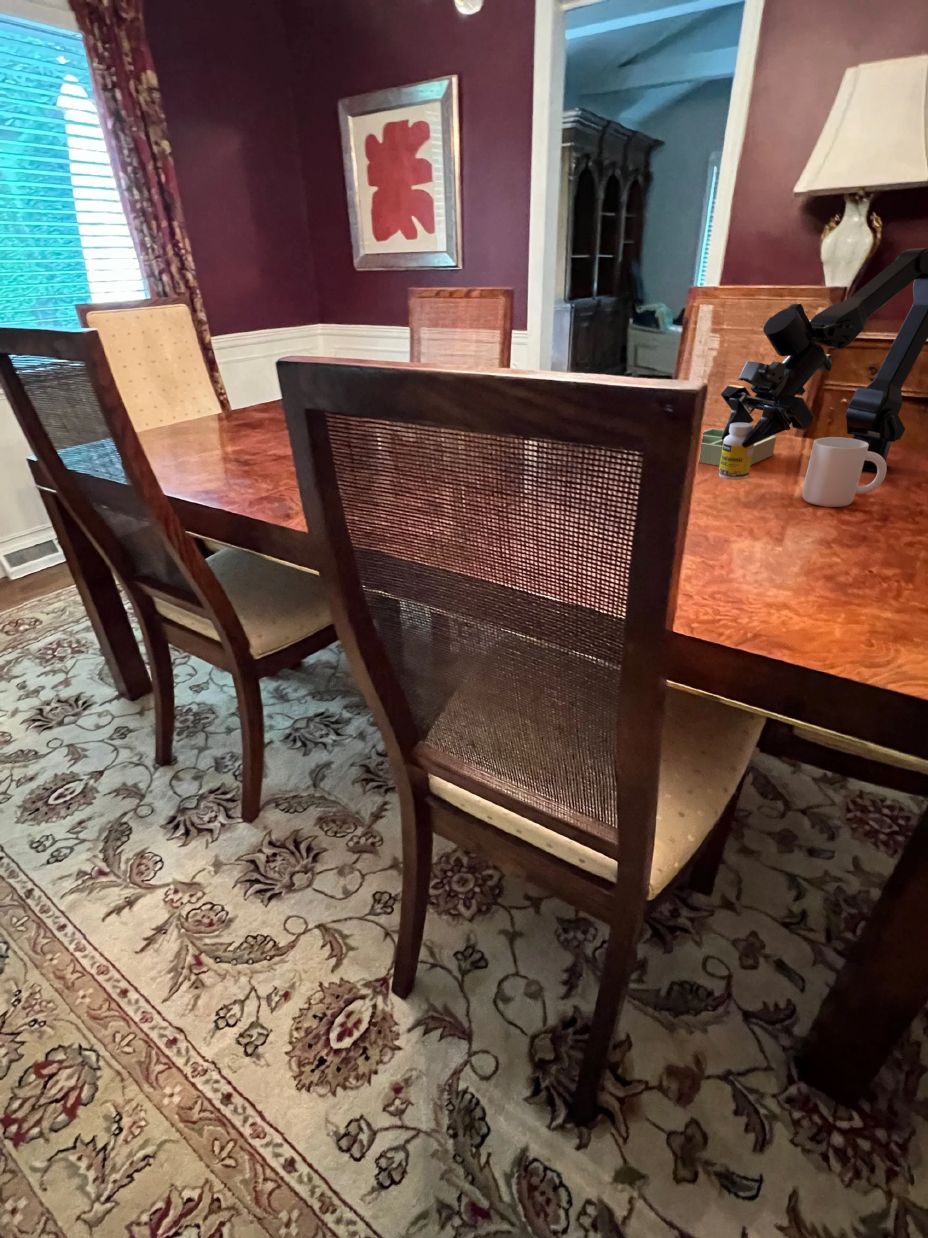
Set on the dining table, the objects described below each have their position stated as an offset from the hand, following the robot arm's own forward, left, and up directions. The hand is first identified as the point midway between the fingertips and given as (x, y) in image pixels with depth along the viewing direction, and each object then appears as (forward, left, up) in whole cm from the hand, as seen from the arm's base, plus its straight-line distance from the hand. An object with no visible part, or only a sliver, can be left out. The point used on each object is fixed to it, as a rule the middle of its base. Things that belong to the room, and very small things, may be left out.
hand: (732, 442), depth 115 cm
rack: (+12, -22, -9) cm, 26 cm away
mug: (-18, -5, -9) cm, 21 cm away
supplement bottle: (-1, -1, -7) cm, 7 cm away
